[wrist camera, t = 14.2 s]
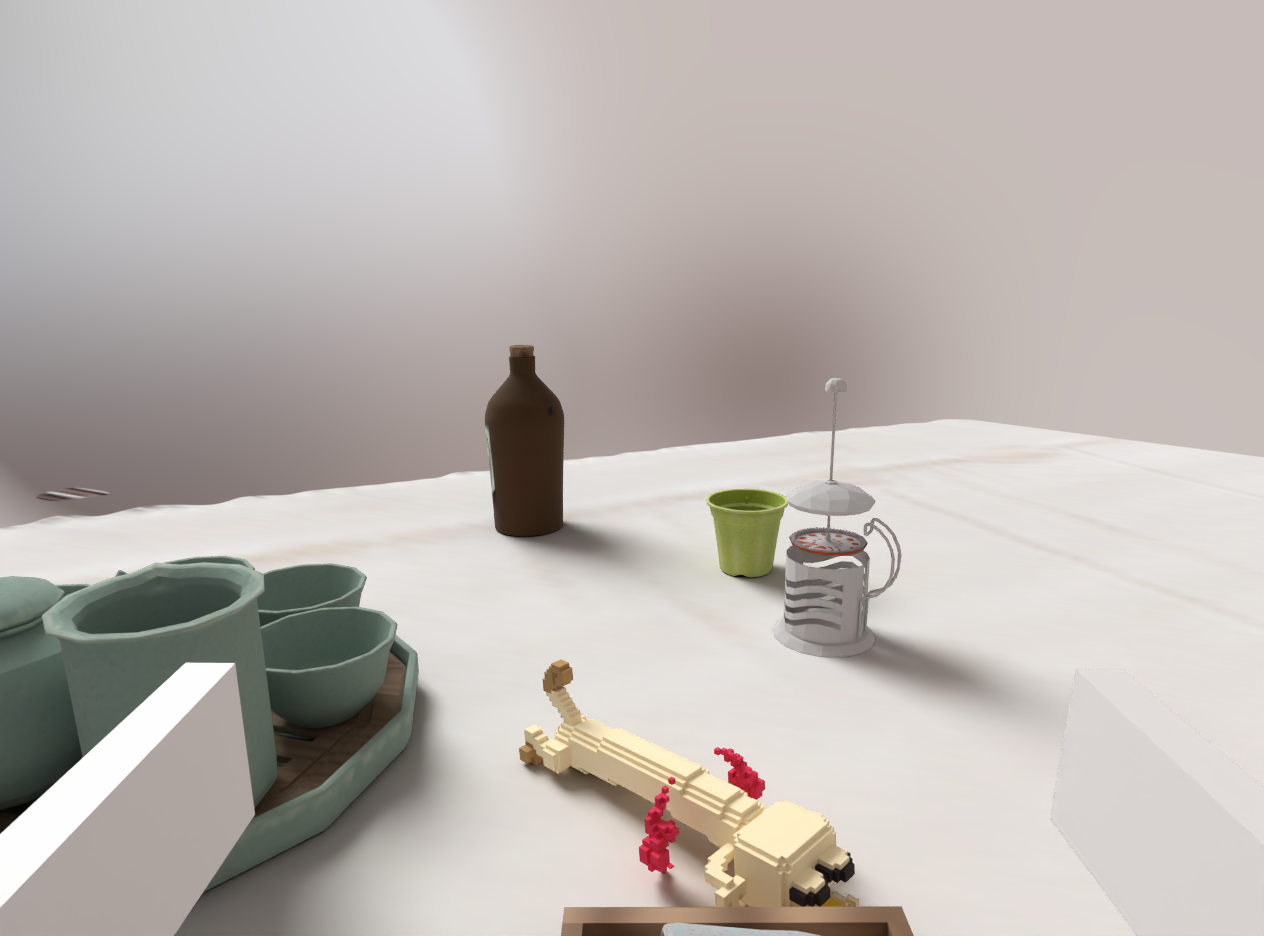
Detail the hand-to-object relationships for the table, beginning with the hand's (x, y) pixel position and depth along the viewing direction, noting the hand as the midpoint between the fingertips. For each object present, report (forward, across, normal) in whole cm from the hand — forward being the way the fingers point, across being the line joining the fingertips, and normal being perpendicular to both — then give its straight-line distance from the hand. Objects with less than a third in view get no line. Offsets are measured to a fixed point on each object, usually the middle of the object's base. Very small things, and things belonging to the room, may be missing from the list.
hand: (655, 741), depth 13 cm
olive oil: (+95, -14, -30) cm, 100 cm away
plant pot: (+78, +14, -29) cm, 84 cm away
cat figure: (+32, +3, -28) cm, 43 cm away
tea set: (+42, -37, -29) cm, 63 cm away
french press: (+59, +20, -28) cm, 69 cm away
